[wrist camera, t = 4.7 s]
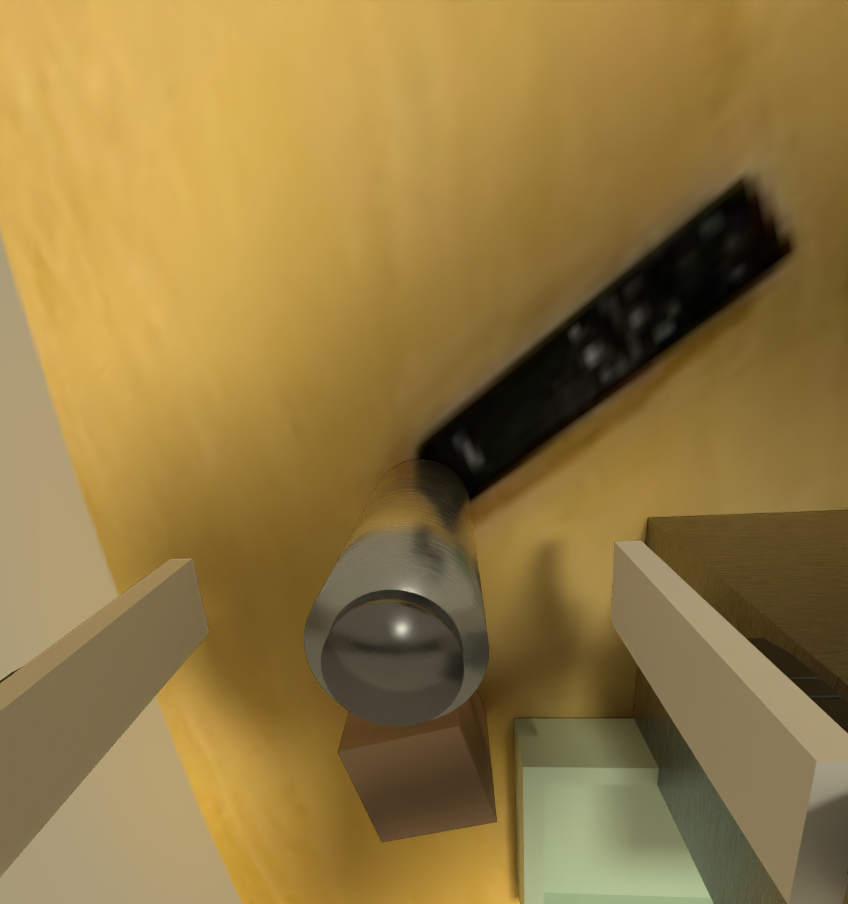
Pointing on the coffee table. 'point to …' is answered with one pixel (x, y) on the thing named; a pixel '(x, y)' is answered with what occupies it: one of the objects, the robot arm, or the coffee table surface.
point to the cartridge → (403, 603)
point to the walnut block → (422, 772)
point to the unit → (755, 616)
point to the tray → (595, 818)
